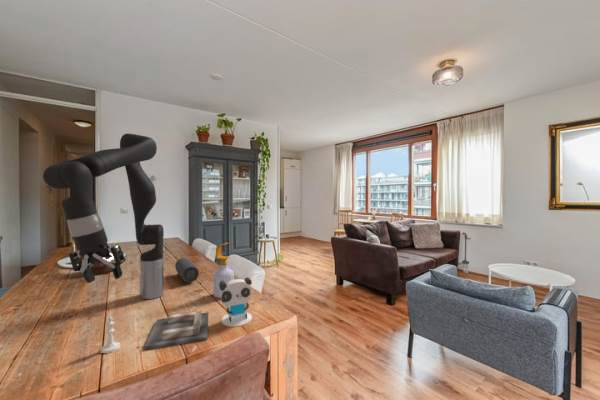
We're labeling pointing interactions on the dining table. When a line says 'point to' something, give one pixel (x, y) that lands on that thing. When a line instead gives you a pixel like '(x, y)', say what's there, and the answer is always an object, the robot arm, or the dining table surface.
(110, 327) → the chess piece
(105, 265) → the food container
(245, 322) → the panda figurine
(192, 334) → the u rest
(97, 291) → the dining table surface
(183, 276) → the bluetooth speaker
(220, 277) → the soap bottle
